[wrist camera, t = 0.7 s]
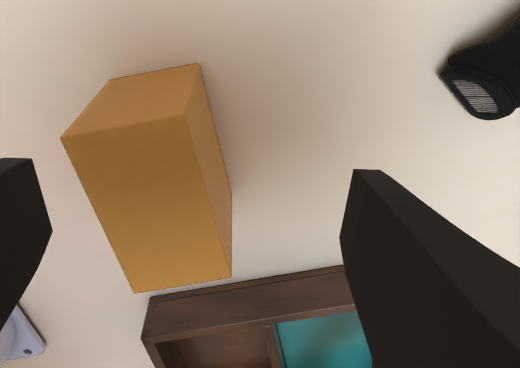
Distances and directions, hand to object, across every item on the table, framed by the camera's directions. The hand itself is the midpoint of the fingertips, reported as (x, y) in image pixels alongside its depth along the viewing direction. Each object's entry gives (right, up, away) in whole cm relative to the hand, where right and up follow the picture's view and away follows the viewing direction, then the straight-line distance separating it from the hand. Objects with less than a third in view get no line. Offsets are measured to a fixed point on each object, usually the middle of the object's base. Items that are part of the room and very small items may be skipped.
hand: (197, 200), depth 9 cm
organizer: (+2, -10, +18) cm, 20 cm away
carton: (-3, +2, +10) cm, 11 cm away
